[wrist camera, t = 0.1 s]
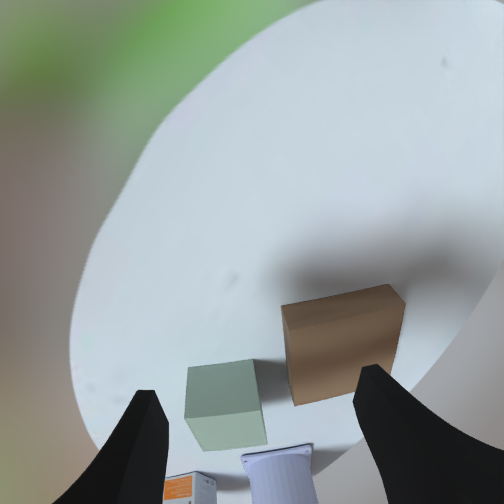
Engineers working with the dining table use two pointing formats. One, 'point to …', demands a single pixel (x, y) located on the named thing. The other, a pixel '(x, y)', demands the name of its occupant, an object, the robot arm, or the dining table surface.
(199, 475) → the skincare box
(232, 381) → the sage cube
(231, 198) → the dining table surface
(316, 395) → the walnut block
